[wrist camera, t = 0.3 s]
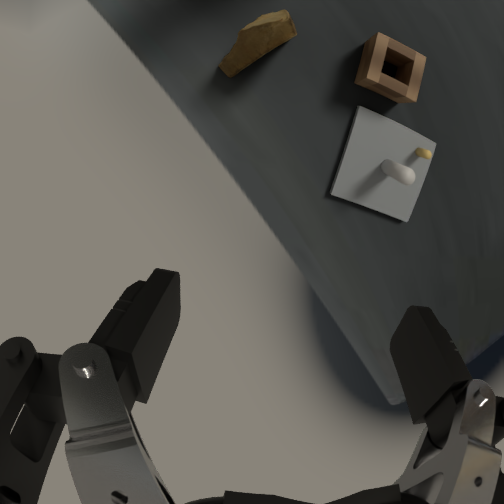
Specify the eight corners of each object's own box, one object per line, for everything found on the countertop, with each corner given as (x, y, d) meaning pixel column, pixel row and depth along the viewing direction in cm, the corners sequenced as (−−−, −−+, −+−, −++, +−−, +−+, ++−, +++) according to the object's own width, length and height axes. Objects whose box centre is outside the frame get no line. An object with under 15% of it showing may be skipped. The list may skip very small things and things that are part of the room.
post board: (357, 106, 29) (376, 103, 22) (432, 142, 29) (461, 150, 23) (329, 192, 34) (341, 209, 28) (404, 219, 35) (426, 240, 28)
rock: (222, 100, 28) (309, 81, 25) (187, 50, 20) (294, 21, 17) (223, 48, 30) (294, 31, 27) (196, 4, 22) (278, -19, 19)
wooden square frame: (365, 42, 24) (378, 32, 20) (408, 63, 25) (426, 57, 20) (354, 83, 27) (366, 77, 23) (398, 103, 28) (415, 102, 23)
